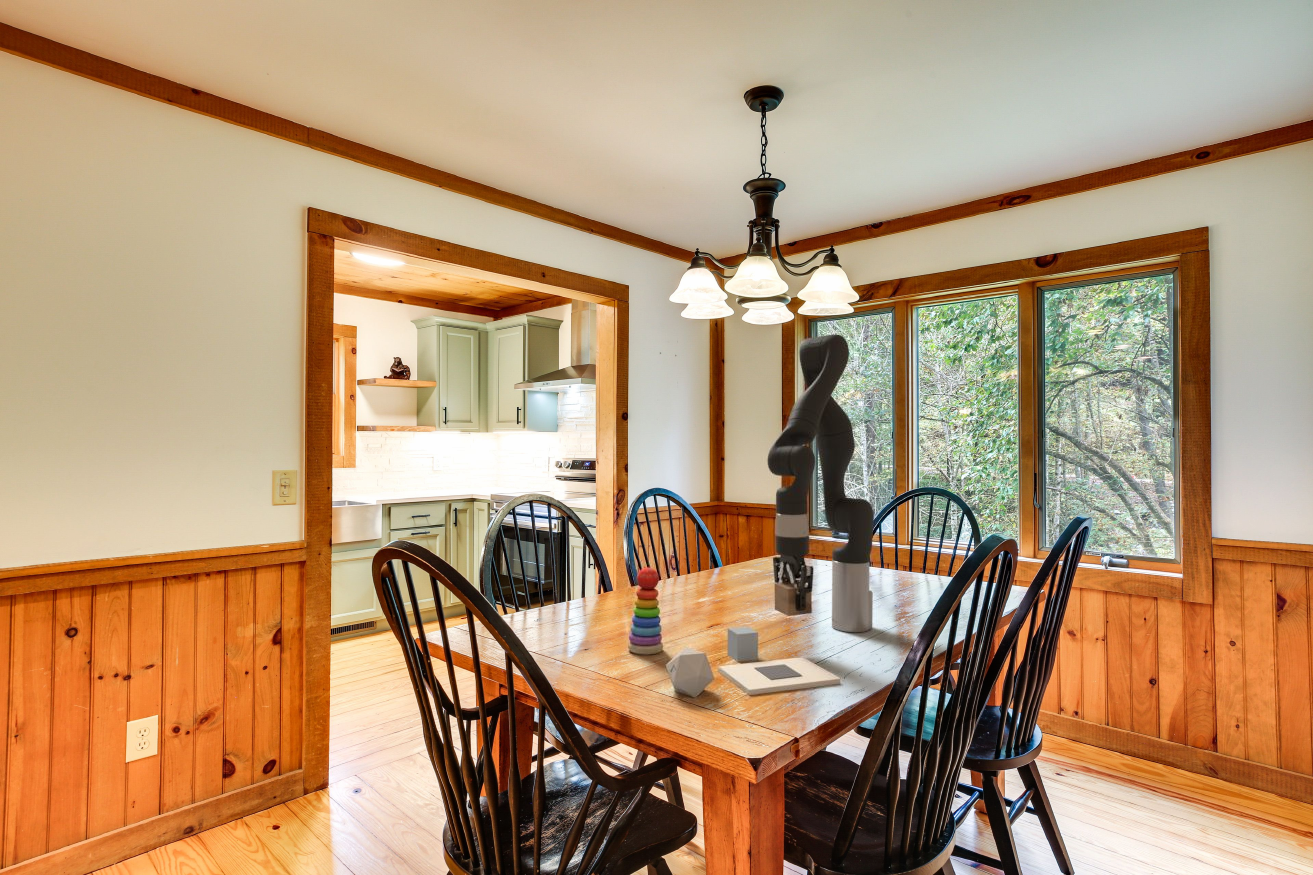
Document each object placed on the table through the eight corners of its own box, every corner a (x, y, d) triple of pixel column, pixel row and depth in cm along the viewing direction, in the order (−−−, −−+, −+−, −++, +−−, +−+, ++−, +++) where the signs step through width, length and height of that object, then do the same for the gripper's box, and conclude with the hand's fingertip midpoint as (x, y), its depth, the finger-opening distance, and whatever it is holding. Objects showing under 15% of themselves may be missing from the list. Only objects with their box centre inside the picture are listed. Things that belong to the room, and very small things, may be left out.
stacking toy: (650, 658, 151) (651, 572, 151) (621, 651, 156) (621, 568, 156) (669, 648, 158) (670, 567, 158) (640, 643, 162) (641, 563, 162)
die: (673, 684, 137) (654, 652, 133) (711, 662, 138) (693, 630, 133) (686, 714, 130) (666, 681, 125) (726, 691, 130) (707, 657, 126)
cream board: (802, 661, 150) (802, 656, 150) (840, 683, 137) (840, 677, 137) (718, 671, 143) (718, 665, 143) (749, 695, 130) (749, 688, 130)
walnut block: (797, 606, 161) (797, 581, 161) (811, 613, 155) (811, 586, 155) (774, 609, 159) (774, 583, 159) (788, 616, 153) (788, 589, 153)
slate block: (747, 652, 156) (747, 626, 156) (757, 659, 151) (758, 632, 151) (727, 654, 154) (727, 628, 154) (737, 661, 150) (737, 634, 150)
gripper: (824, 536, 151) (825, 613, 151) (790, 527, 165) (790, 598, 165) (794, 539, 148) (795, 616, 149) (762, 529, 162) (762, 601, 162)
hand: (792, 606), depth 157 cm, fingers closed on walnut block, 6 cm apart
